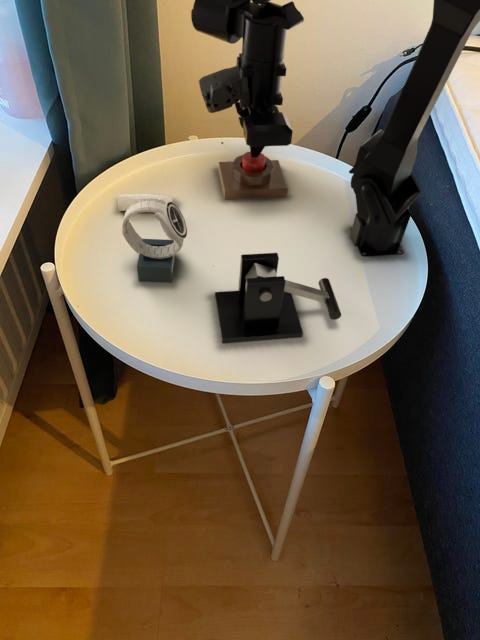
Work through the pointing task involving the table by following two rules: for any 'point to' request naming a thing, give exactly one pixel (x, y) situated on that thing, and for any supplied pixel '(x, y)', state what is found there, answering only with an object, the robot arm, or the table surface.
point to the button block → (252, 180)
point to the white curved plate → (129, 199)
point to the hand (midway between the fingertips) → (254, 156)
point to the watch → (156, 252)
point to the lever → (302, 289)
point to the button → (253, 163)
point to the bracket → (257, 306)
